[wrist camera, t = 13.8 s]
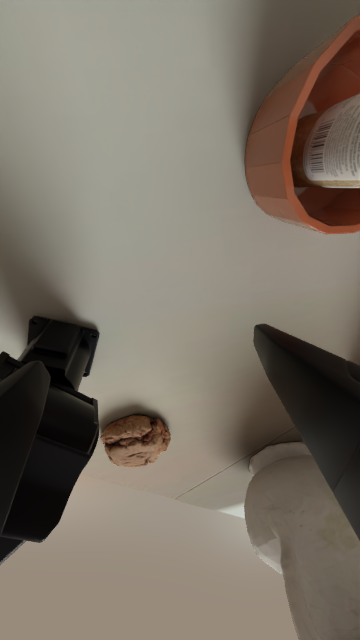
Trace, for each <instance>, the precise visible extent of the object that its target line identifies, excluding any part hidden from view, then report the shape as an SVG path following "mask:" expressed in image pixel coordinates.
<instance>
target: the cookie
mask: <svg viewBox="0 0 360 640" xmlns="http://www.w3.org/2000/svg"><path fill="white" fill-rule="evenodd" d="M101 439H102V441H103V444H104V443H105V451H106V453H107V455H108V456H109V459H110V461H111V462H112V463H114V464H116V465H118V466H125V467H139V466H144V465H147V464H148V462H147V461H149V462H150V463H153V462H155V460H156V459H157V457H158V456H159V454H160V453H161V452H162V451H165V450H167V447H168V445H169V442H170V432H169V429H168V428H167V426H166V425H164V423H162V422H161V421H160V419H152V418H149V417H148V416H147V417H146V416H141V415H134V416H131V415H130V417H125V418H123V419H120V420H118V421H116V422H114V423H113V422H112V423H111V424H109V425H108V427H107V428H106V429H105V431H104V433H103V435H102V436H101Z"/></svg>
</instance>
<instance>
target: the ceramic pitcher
mask: <svg viewBox="0 0 360 640" xmlns="http://www.w3.org/2000/svg"><path fill="white" fill-rule="evenodd" d="M249 471H251V472H253V473H254V474H255V475H254V476H253V478H252V480H251V481H250V483H249V485H248V489H247V493H246V499H245V505H244V509H245V520H246V525H247V531H248V534H249V537H250V540H251V543H252V546H253V548H254V550H255V552H256V554H257V555H258V556H259V557H260V558H261V559H262V560H263V561H264V562H265V563H267V564H268V565H269V566H271V567H272V568H273V569H275V570H276V571H277V572H279V573H280V574H282V575H283V577H284V580H285V588H286V594H287V598H288V602H289V606H290V611H291V615H292V619H293V623H294V626H295V629H296V633H297V636H298V639H299V640H360V541H359V539H358V537H357V535H356V534H355V532H354V530H353V528H352V526H351V525H350V523H349V521H348V519H347V518H346V516H345V514H344V512H343V510H342V509H341V507H340V505H339V503H338V502H337V500H336V498H335V496H334V495H333V492H332V491H331V489H330V487H329V485H328V484H327V482H326V480H325V478H324V476H323V475H322V473H321V471H320V469H319V468H318V466H317V464H316V462H315V460H314V459H313V457H312V455H310V452H309V450H308V448H307V446H306V445H305V443H304V442H303V441H300V442H289V443H280V444H275V445H270V446H267V447H266V448H265V449H263V450H262V451H260V452H259V453H257V454H256V455H254V456H253V457H252V458H251V460H250V464H249Z"/></svg>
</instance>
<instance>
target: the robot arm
mask: <svg viewBox="0 0 360 640" xmlns="http://www.w3.org/2000/svg"><path fill="white" fill-rule="evenodd" d="M34 320H36V321H37V322H38V323H36V322H35V321H34ZM92 334H95V335H96V336H94V335H92ZM98 338H99V332H98V331H97V330H94V329H89V328H85V327H81V326H78V325H74V324H70V323H65V322H61V321H57V320H51V319H47V318H43V317H38V316H33V317H32V318H31V319H30V320H29V332H28V346H27V348H26V349H25V350H24V352H23V353H22V354H21V356H20V357H19V358H18V360H16V359H14V358H12V357H10V356H9V354H7V353H5V352H4V351H3V352H2V353H1V354H0V565H1V564H2V563H3V562H4V561H5V560H6V559H7V558H8V557H9V556H10V555H12V554H13V553H14V552H15V551H16V550H17V549H18V548H19V547H20V546H21V545H22V544H24V542H26V541H32V542H39V543H40V542H42V541H44V540H45V539H46V537H47V536H48V535H49V534H50V533H51V531H52V530H53V529H54V528H55V527H56V525H57V524H58V523H59V521H60V519H61V516H62V514H63V511H64V509H65V506H66V504H67V501H68V498H69V496H70V494H71V491H72V489H73V487H74V485H75V483H76V481H77V479H78V477H79V475H80V473H81V472H82V470H83V468H84V467H85V466H86V464H87V463H88V461H89V460H90V458H91V456H92V454H93V452H94V450H95V447H96V444H97V441H98V437H99V421H98V402H97V400H96V399H94V398H89V397H87V396H86V395H84V394H82V393H80V392H78V388H79V385H80V383H81V380H82V377H87V376H89V374H90V370H91V366H92V362H93V358H94V354H95V350H96V346H97V342H98ZM253 342H254V346H255V349H256V351H257V353H258V356H259V358H260V361H261V363H262V366H263V368H264V370H265V373H266V375H267V377H268V379H269V381H270V382H271V384H272V386H273V388H274V390H275V391H276V393H277V395H278V397H279V398H280V400H281V402H282V404H283V405H284V407H285V409H286V411H287V413H288V414H289V416H290V418H291V420H292V421H293V423H294V425H295V427H296V429H297V430H298V432H299V434H300V436H301V437H302V439H303V441H304V443H305V445H306V446H307V448H308V450H309V452H310V453H311V455H312V457H313V459H314V460H315V462H316V464H317V466H318V468H319V469H320V471H321V473H322V475H323V476H324V478H325V480H326V482H327V484H328V485H329V487H330V489H331V491H332V492H333V495H334V496H335V498H336V500H337V502H338V503H339V505H340V507H341V509H342V510H343V512H344V514H345V516H346V518H347V519H348V521H349V523H350V525H351V526H352V528H353V530H354V532H355V534H356V535H357V537H358V539H359V541H360V366H359V365H357V364H355V363H352V362H350V361H346V360H345V359H343V358H341V357H339V356H337V355H334V354H332V353H330V352H328V351H325V350H323V349H321V348H319V347H316V346H314V345H312V344H310V343H307V342H305V341H303V340H301V339H298V338H296V337H294V336H292V335H289V334H287V333H285V332H283V331H280V330H278V329H276V328H274V327H271V326H269V325H267V324H259V325H256V326H255V327H254V339H253ZM85 372H86V373H85Z"/></svg>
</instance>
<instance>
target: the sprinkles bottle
mask: <svg viewBox="0 0 360 640" xmlns="http://www.w3.org/2000/svg"><path fill="white" fill-rule="evenodd" d="M290 163H291V171H292V178H293V186H294V187H297V188H303V187H309V186H322V187H326V188H360V94H357V95H355V96H353V97H351V98H348V99H346V100H344V101H341V102H339V103H337V104H335V105H334V106H332V107H330V108H328V109H326V110H324V111H322V112H319V113H313V114H310V115H307V116H305V117H303V118H302V119H301V120H299V121H298V122H297V126H296V131H295V137H294V142H293V147H292V152H291V158H290Z"/></svg>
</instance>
